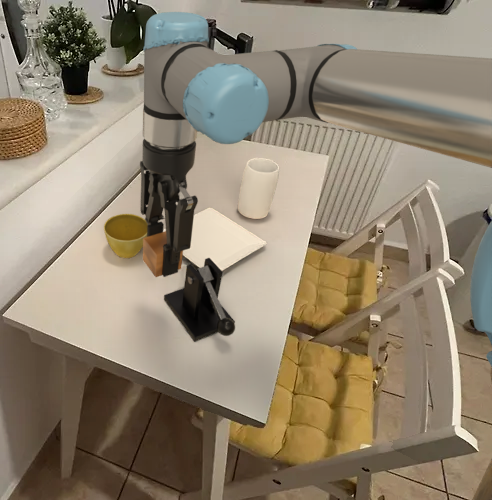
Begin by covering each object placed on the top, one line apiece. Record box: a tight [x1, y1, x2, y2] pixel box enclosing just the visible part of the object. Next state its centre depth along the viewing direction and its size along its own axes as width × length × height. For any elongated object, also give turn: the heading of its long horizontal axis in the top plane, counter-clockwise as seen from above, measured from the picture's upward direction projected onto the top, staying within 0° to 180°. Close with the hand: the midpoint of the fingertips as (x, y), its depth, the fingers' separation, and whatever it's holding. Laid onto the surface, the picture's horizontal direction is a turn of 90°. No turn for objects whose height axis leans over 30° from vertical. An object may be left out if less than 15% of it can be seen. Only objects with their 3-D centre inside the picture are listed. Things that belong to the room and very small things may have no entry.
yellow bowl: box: [103, 213, 147, 259], centre depth 97 cm, size 10×10×7 cm
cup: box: [237, 157, 281, 220], centre depth 107 cm, size 8×8×14 cm
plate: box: [163, 206, 268, 272], centre depth 101 cm, size 19×19×2 cm
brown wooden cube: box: [142, 231, 184, 278], centre depth 73 cm, size 5×5×5 cm
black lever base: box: [163, 258, 236, 342], centre depth 82 cm, size 12×9×12 cm
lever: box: [196, 265, 236, 337], centre depth 78 cm, size 13×3×3 cm
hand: (161, 263), depth 75 cm, fingers closed on brown wooden cube, 5 cm apart
